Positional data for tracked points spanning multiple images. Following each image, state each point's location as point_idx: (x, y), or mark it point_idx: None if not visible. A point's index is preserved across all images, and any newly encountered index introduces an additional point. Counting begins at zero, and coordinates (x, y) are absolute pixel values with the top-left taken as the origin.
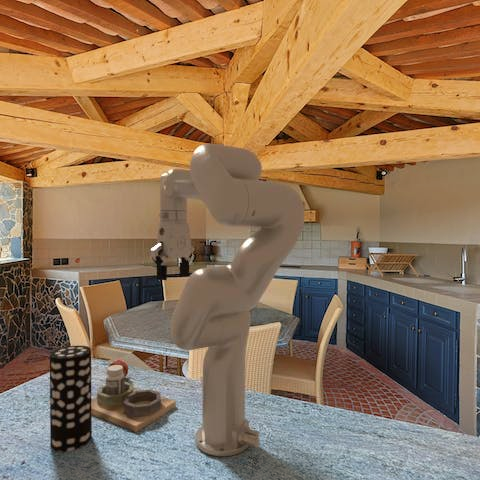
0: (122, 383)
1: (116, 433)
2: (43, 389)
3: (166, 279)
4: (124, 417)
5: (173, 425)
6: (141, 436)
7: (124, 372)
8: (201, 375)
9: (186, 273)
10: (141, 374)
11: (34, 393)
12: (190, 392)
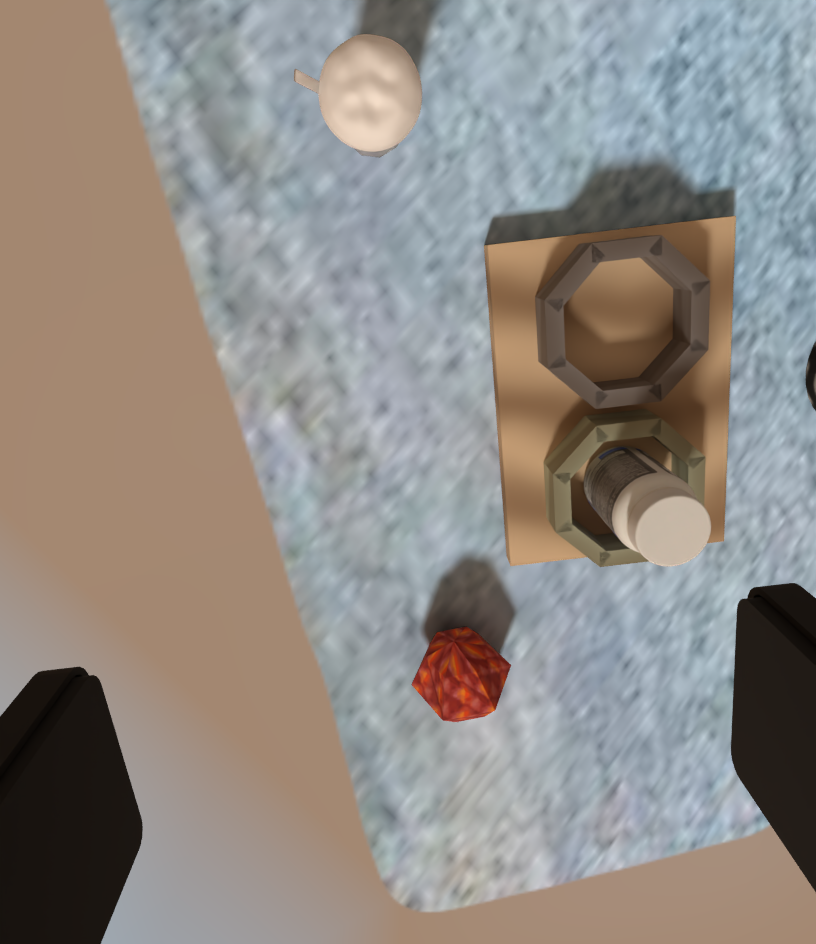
0: (637, 467)
1: (764, 274)
2: (681, 771)
3: (756, 587)
4: (710, 313)
5: (605, 127)
6: (732, 174)
7: (461, 632)
8: (412, 123)
9: (79, 724)
10: (357, 618)
11: (717, 764)
12: (340, 296)
